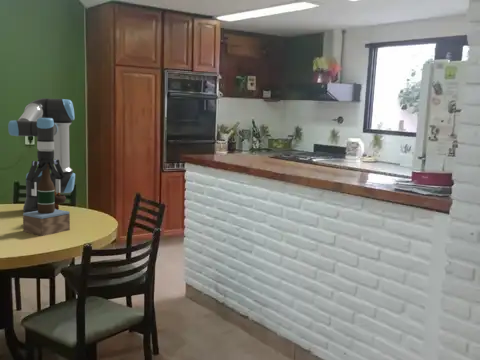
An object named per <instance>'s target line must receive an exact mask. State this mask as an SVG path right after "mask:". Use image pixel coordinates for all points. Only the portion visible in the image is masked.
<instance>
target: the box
mask: <svg viewBox="0 0 480 360" xmlns="http://www.w3.org/2000/svg"><path fill="white" fill-rule="evenodd" d="M70 216H71V215H70V214H65V215H60V216H54V217H49V218H44V219H40V218H35V217H30V216H24V215H23V214H22V223H23V224H22V225H23V227H22V228H23V233H28V234H32V235H36V236H40V237H45V236H49V235H53V234H58V233H62V232H67V231H70V230H71V224H70V223H71V221H70V220H71V219H70Z"/></svg>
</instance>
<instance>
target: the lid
mask: <svg viewBox="0 0 480 360" xmlns="http://www.w3.org/2000/svg"><path fill="white" fill-rule="evenodd" d="M70 213H71V212H70V211H67V210H61V209H59V210H57V209H55V211H54V212H53V213H48V214H43V213H38V211H33V212H23V213H22V216H23V215H24V216H30V217H35V218H40V219H44V218H49V217H54V216H60V215H65V214H70Z"/></svg>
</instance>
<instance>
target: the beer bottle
mask: <svg viewBox="0 0 480 360" xmlns="http://www.w3.org/2000/svg"><path fill="white" fill-rule="evenodd" d="M47 166H48V167H47V169H46V170H43V171H42V178H41V181H40V182H39V184H38V190H37V194H38V213H43V214H48V213H53V212H54V211H55V189H54V184H53V182H52V181H51V178H50V173H51V170H49V166H50V165H49V164H47Z"/></svg>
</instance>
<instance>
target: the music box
mask: <svg viewBox="0 0 480 360" xmlns="http://www.w3.org/2000/svg"><path fill="white" fill-rule="evenodd" d="M60 188H61V186H60ZM54 189H55V209H57V210H60V206H59V204H64V203H65V202H66V201H67V197H66V195H64V194H62V193H56V187H54Z"/></svg>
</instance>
